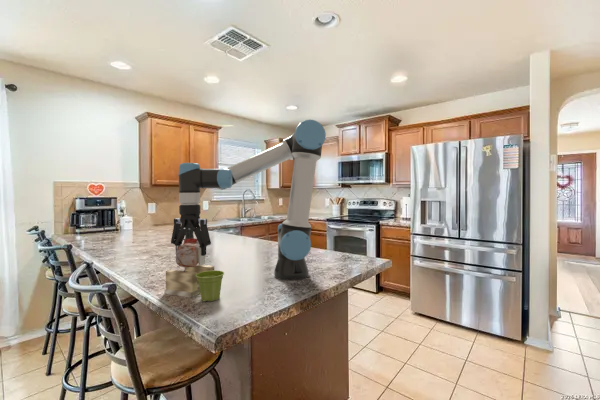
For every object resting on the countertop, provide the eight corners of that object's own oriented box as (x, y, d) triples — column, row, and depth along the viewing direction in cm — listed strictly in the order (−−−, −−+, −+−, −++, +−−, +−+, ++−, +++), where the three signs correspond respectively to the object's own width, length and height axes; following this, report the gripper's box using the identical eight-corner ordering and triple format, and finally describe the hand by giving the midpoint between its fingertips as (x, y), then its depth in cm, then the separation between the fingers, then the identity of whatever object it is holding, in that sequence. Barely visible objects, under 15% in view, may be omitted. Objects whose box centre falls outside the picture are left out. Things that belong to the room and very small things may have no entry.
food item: (197, 267, 104) (197, 240, 104) (174, 268, 103) (173, 241, 103) (205, 259, 118) (204, 235, 118) (184, 260, 117) (184, 235, 117)
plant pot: (191, 298, 101) (190, 273, 100) (216, 292, 107) (215, 268, 107) (203, 305, 94) (203, 279, 94) (229, 298, 100) (229, 273, 100)
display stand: (215, 285, 115) (215, 265, 115) (190, 297, 102) (190, 274, 102) (191, 282, 119) (190, 263, 119) (164, 293, 106) (164, 271, 106)
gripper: (220, 203, 110) (221, 263, 110) (174, 203, 117) (175, 259, 118) (207, 204, 103) (208, 267, 103) (159, 204, 110) (160, 263, 111)
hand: (190, 263), depth 110 cm, fingers closed on food item, 9 cm apart
